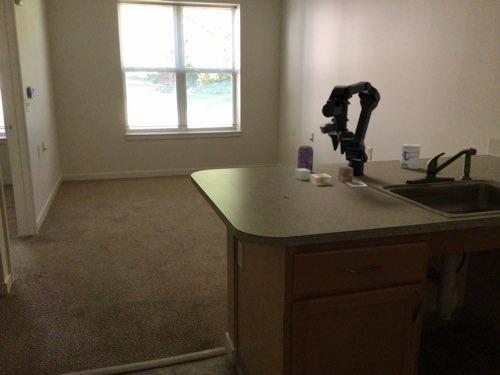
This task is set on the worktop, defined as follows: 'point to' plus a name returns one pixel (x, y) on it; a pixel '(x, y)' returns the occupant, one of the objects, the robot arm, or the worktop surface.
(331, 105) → the robot arm
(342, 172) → the walnut block
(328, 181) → the beech base
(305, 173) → the sage block
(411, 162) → the ink box
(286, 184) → the worktop surface
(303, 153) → the beverage can
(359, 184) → the swatch
